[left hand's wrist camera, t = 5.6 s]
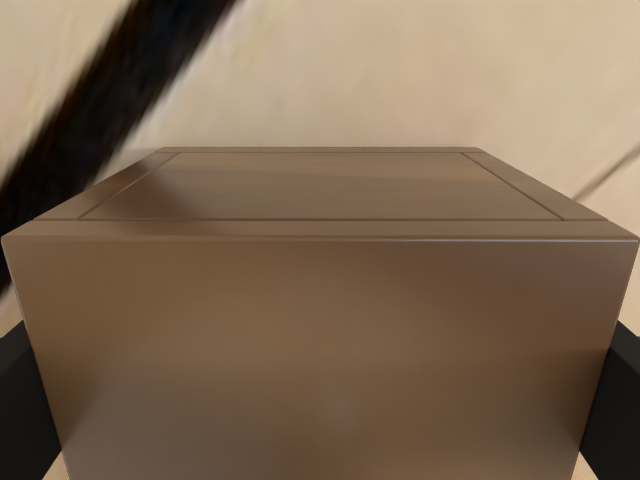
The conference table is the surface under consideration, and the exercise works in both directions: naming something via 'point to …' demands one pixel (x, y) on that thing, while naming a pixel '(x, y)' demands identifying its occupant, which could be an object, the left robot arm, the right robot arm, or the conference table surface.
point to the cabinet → (320, 316)
